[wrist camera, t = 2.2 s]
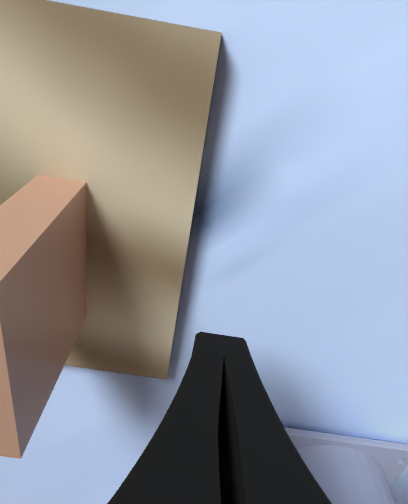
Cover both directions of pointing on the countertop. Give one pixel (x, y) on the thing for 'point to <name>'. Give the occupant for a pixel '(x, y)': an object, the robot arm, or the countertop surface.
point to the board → (112, 158)
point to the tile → (38, 298)
